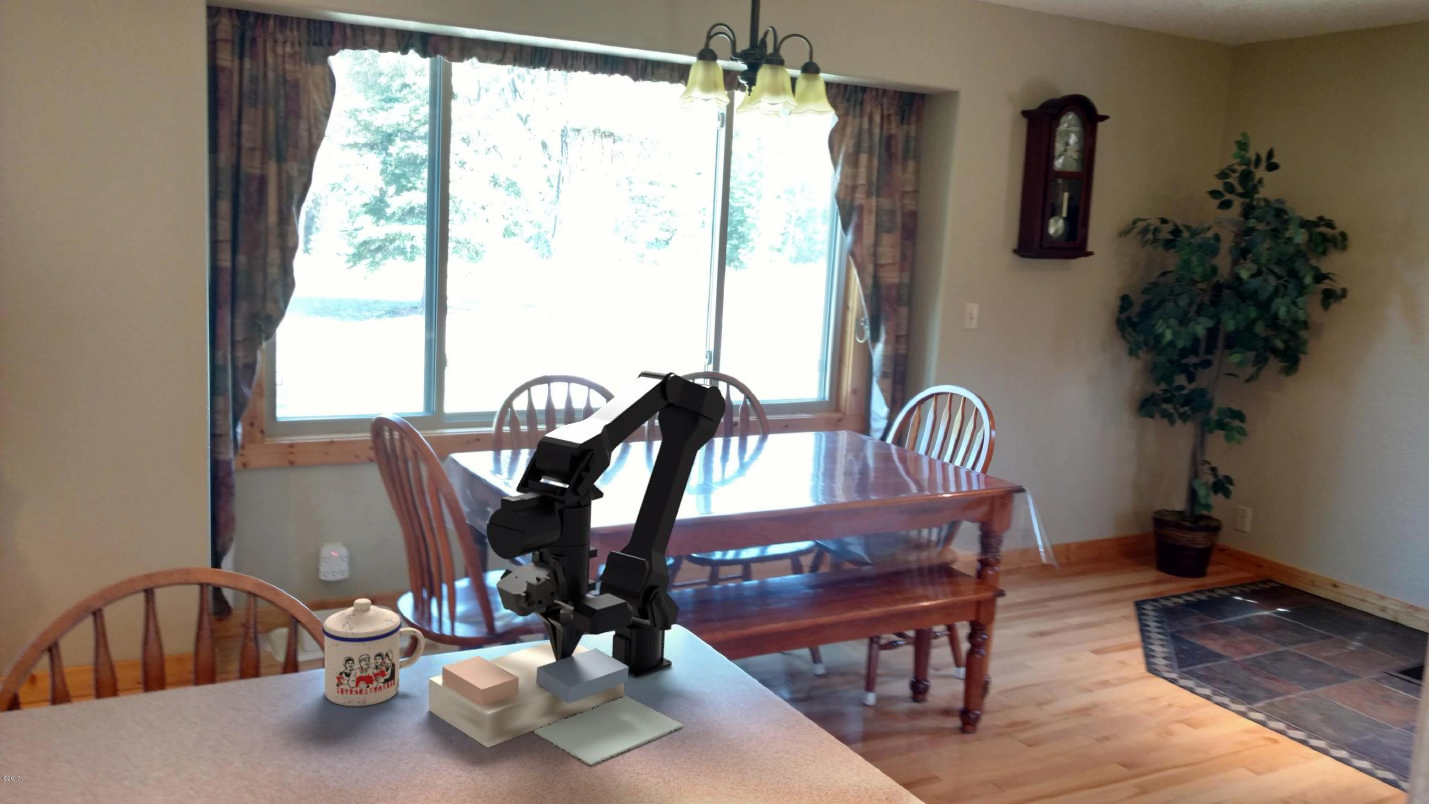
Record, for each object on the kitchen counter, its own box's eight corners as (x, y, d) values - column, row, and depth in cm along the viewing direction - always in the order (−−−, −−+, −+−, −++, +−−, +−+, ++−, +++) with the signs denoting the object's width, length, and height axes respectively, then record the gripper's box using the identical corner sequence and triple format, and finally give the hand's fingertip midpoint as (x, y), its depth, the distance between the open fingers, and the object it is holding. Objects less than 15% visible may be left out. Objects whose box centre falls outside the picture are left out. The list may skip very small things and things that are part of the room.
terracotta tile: (478, 671, 129) (478, 655, 129) (518, 693, 123) (518, 677, 123) (442, 682, 125) (442, 666, 125) (481, 706, 120) (481, 689, 120)
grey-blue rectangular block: (594, 663, 133) (596, 648, 132) (627, 682, 129) (628, 666, 128) (536, 683, 126) (537, 667, 126) (568, 703, 122) (569, 687, 122)
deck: (562, 666, 141) (563, 637, 141) (623, 697, 133) (624, 666, 132) (428, 710, 127) (429, 678, 126) (487, 747, 119) (488, 713, 118)
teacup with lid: (330, 714, 125) (329, 618, 123) (316, 683, 132) (315, 593, 131) (433, 696, 131) (434, 605, 129) (414, 668, 138) (415, 581, 136)
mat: (626, 698, 133) (626, 696, 133) (682, 727, 126) (682, 724, 126) (534, 732, 123) (534, 730, 123) (590, 766, 116) (590, 763, 116)
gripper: (463, 532, 128) (461, 656, 130) (559, 573, 115) (555, 710, 118) (539, 517, 136) (536, 635, 138) (637, 554, 123) (632, 683, 125)
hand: (562, 664), depth 130 cm, fingers closed
